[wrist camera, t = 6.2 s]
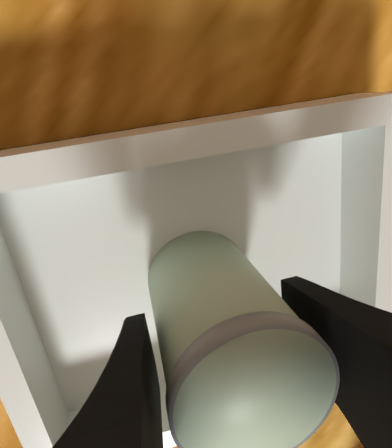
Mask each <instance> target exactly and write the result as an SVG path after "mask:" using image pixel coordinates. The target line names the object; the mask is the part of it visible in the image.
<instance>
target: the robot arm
mask: <svg viewBox="0 0 392 448" xmlns="http://www.w3.org/2000/svg"><path fill="white" fill-rule="evenodd" d="M281 295H282V299H283V300H284V301H285V302H286V304H287V305H288V306H289V307H290V308H291V309H292V310H293V312H294V313H295V314H296V315H297V316H298V317H299V319H301V320H303V321H304V322H306V323H307V324H309V325H310V326H311V327H312V328H313V329H314V330H315V331H316V332H317V333H318V334H319V336H320V337H321V338H322V339H323V340H324V341H325V342H326V343H327V345H328V346H329V347H330V348H331V350H332V351H333V353H334V355H335V357H336V360H337V363H338V366H339V373H340V383H339V389H338V394H337V397H336V400H335V403H336V404H337V405H338V407H339V408H340V410H341V411H342V413H343V414H344V415H345V417H346V419H347V420H348V422H349V424H350V425H351V427H352V428H353V430H354V432H355V433H356V435H357V437H358V438H359V440H360V441H361V443H362V445H363V446H364V448H392V313H391V312H388V311H385V310H382V309H379V308H376V307H373V306H370V305H368V304H365V303H362V302H359V301H357V300H354V299H352V298H349V297H347V296H344V295H342V294H339V293H337V292H335V291H332V290H330V289H327V288H325V287H323V286H320V285H318V284H316V283H313V282H311V281H309V280H306V279H304V278H301V277H298V276H294V277H290V278H286V279H282V280H281ZM52 448H163V433H162V415H161V397H160V386H159V380H158V373H157V367H156V361H155V357H154V353H153V348H152V344H151V339H150V335H149V331H148V326H147V322H146V318H145V313H142V314H137V315H133V316H129V317H126V318H125V320H124V322H123V325H122V328H121V331H120V334H119V337H118V339H117V342H116V344H115V347H114V349H113V351H112V353H111V355H110V358H109V360H108V362H107V364H106V366H105V368H104V370H103V372H102V374H101V376H100V377H99V379H98V381H97V383H96V385H95V387H94V388H93V390H92V392H91V393H90V395H89V397H88V398H87V400H86V402H85V403H84V405H83V406H82V408H81V409H80V411H79V412H78V414H77V415H76V416H75V418H74V419H73V421H72V422H71V423H70V425H69V426H68V428H67V429H66V430H65V432H64V433H63V434H62V436H61V437H60V438H59V440H58V441H57V442H56V443H55V445H54V446H53V447H52Z"/></svg>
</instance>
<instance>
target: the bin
mask: <svg viewBox="0 0 392 448" xmlns="http://www.w3.org/2000/svg"><path fill="white" fill-rule="evenodd" d="M193 231H210V232H215V233H218V234H221V235H223V236H225V237H226V238H228V239H230V240H231V241H232V242H233V243H234V244H235V245H236V246H237V247H238V248H239V250H240V251H241V252H242V253H243V254H244V255H245V257H246V258H247V259H248V260H249V261H250V262H251V263H252V265H253V266H254V267H255V268H256V269H257V270H258V271H259V273H260V274H261V275H262V276H263V277H264V278H265V279H266V281H267V282H268V283H269V284H270V285H271V286H272V288H273V289H274V290H275V291H276V292H277V293H278V294H279V296H280V297H281V298H282V295H281V280H282V279H286V278H290V277H294V276H298V277H301V278H304V279H306V280H309V281H311V282H313V283H316V284H318V285H320V286H323V287H325V288H327V289H330V290H332V291H335V292H337V293H339V294H342V295H344V296H347V297H349V298H352V299H354V300H357V301H359V302H362V303H365V304H368V305H370V306H373V307H376V308H379V309H382V310H385V311H388V312H391V313H392V91H388V92H369V93H355V94H348V95H342V96H336V97H330V98H323V99H317V100H311V101H305V102H298V103H292V104H286V105H280V106H273V107H267V108H261V109H254V110H248V111H242V112H236V113H229V114H223V115H217V116H211V117H204V118H198V119H192V120H186V121H179V122H173V123H167V124H161V125H154V126H148V127H142V128H136V129H129V130H123V131H117V132H111V133H104V134H98V135H92V136H86V137H79V138H73V139H67V140H60V141H54V142H48V143H42V144H35V145H29V146H23V147H17V148H10V149H4V150H0V398H1V401H2V403H3V405H4V407H5V409H6V412H7V414H8V416H9V418H10V420H11V422H12V425H13V427H14V429H15V431H16V433H17V436H18V438H19V440H20V442H21V444H22V447H23V448H52V447H53V446H54V445H55V443H56V442H57V441H58V440H59V438H60V437H61V436H62V434H63V433H64V432H65V430H66V429H67V428H68V426H69V425H70V423H71V422H72V421H73V419H74V418H75V416H76V415H77V414H78V412H79V411H80V409H81V408H82V406H83V405H84V403H85V402H86V400H87V398H88V397H89V395H90V393H91V392H92V390H93V388H94V387H95V385H96V383H97V381H98V379H99V377H100V376H101V374H102V372H103V370H104V368H105V366H106V364H107V362H108V360H109V358H110V355H111V353H112V351H113V349H114V347H115V344H116V342H117V339H118V337H119V334H120V331H121V328H122V325H123V322H124V320H125V318H126V317H129V316H133V315H137V314H142V313H145V318H146V322H147V326H148V331H149V335H150V339H151V344H152V348H153V353H154V357H155V361H156V367H157V373H158V380H159V386H160V397H161V415H162V433H163V448H172V447H175V446H177V445H176V444H175V442H174V440H173V438H172V435H171V432H170V427H169V422H168V416H167V410H166V401H165V395H166V382H165V377H164V371H163V365H162V360H161V354H160V349H159V343H158V338H157V332H156V327H155V321H154V316H153V310H152V304H151V299H150V293H149V288H148V273H149V269H150V266H151V263H152V261H153V259H154V257H155V256H156V254H157V253H158V252H159V250H160V249H161V248H162V247H163V246H164V245H165V244H167V243H168V242H169V241H171V240H172V239H174V238H176V237H178V236H180V235H182V234H185V233H188V232H193Z"/></svg>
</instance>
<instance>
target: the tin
mask: <svg viewBox="0 0 392 448" xmlns="http://www.w3.org/2000/svg"><path fill="white" fill-rule="evenodd" d="M148 288H149V293H150V299H151V304H152V310H153V316H154V321H155V327H156V332H157V338H158V343H159V349H160V354H161V360H162V365H163V371H164V377H165V382H166V395H165V401H166V410H167V416H168V422H169V427H170V432H171V435H172V438H173V440H174V442H175V444H176V445H177V447H178V448H298V447H299V446H300V445H302V444H303V443H304V442H305V441H307V440H308V439H309V438H310V437H311V436H312V435H313V434H314V433H315V432H316V431H317V429H318V428H319V427H320V426H321V425H322V423H323V422H324V421H325V419H326V418H327V416H328V415H329V413H330V411H331V409H332V407H333V405H334V403H335V400H336V397H337V394H338V389H339V383H340V373H339V366H338V363H337V360H336V357H335V355H334V353H333V351H332V350H331V348H330V347H329V346H328V345H327V343H326V342H325V341H324V340H323V339H322V338H321V337H320V336H319V334H318V333H317V332H316V331H315V330H314V329H313V328H312V327H311V326H310V325H309V324H307V323H306V322H304V321H303V320H301V319H299V317H298V316H297V315H296V314H295V313H294V312H293V310H292V309H291V308H290V307H289V306H288V305H287V304H286V302H285V301H284V300H283V299H282V298H281V297H280V296H279V294H278V293H277V292H276V291H275V290H274V289H273V288H272V286H271V285H270V284H269V283H268V282H267V281H266V279H265V278H264V277H263V276H262V275H261V274H260V273H259V271H258V270H257V269H256V268H255V267H254V266H253V265H252V263H251V262H250V261H249V260H248V259H247V258H246V257H245V255H244V254H243V253H242V252H241V251H240V250H239V248H238V247H237V246H236V245H235V244H234V243H233V242H232V241H231V240H230V239H228V238H226V237H225V236H223V235H221V234H218V233H215V232H210V231H193V232H188V233H185V234H182V235H180V236H178V237H176V238H174V239H172V240H171V241H169V242H168V243H167V244H165V245H164V246H163V247H162V248H161V249H160V250H159V252H158V253H157V254H156V256H155V257H154V259H153V261H152V263H151V266H150V269H149V273H148Z"/></svg>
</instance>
